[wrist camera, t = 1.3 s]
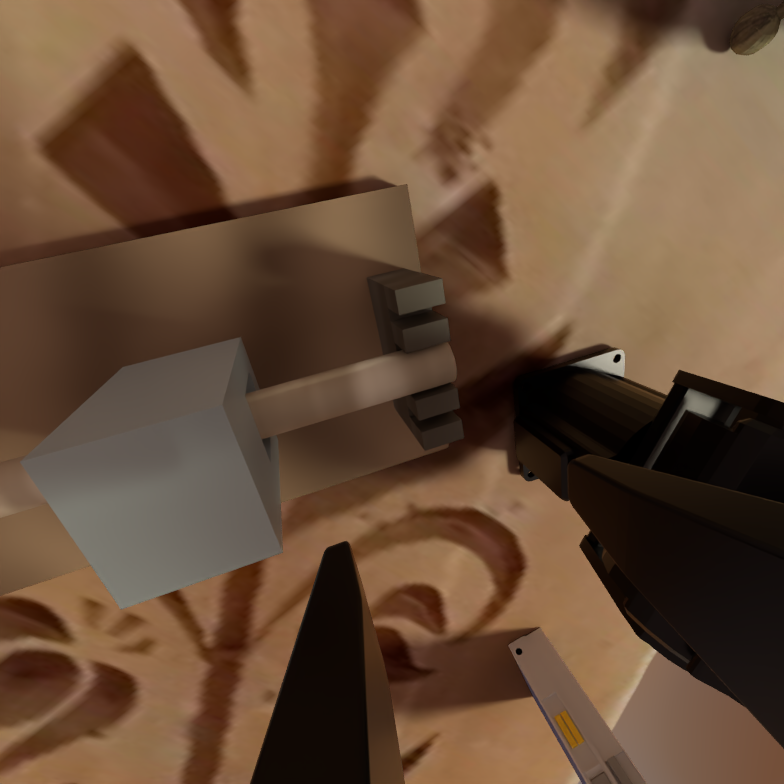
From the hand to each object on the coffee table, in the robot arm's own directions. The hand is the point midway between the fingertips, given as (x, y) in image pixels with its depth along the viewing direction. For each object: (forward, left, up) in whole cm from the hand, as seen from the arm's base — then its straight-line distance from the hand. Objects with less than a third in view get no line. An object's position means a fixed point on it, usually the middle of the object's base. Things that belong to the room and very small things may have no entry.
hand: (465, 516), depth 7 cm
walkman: (-8, +28, -12) cm, 32 cm away
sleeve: (+6, 0, -10) cm, 11 cm away
